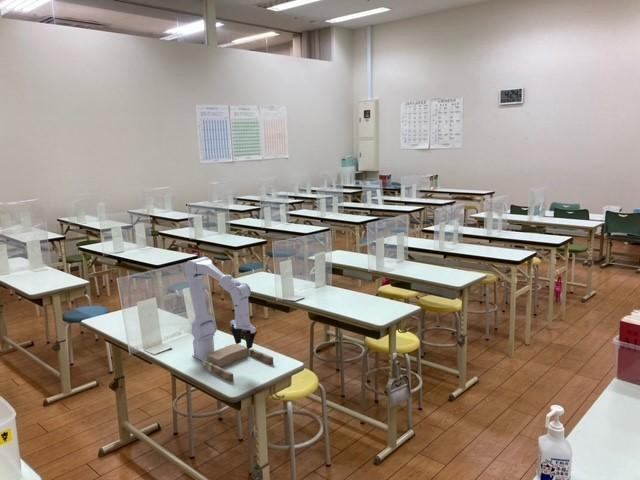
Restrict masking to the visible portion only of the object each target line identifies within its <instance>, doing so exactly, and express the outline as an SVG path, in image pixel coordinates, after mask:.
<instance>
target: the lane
mask: <svg viewBox="0 0 640 480" xmlns="http://www.w3.org/2000/svg"><path fill="white" fill-rule="evenodd" d="M243 346H244V347H246V348H247V346H246V345H243ZM247 351H248V355H247V356H250V357H253V358H255V359H257V360H259V361H262V362H264V363H266V364H268V365H269V366H270V365H271V366H272V365H274V357H273V356H271V355H268V354H266V353H263V352H262V351H259V350H256V349H254V348H253V347H252V348H249V349H247ZM202 368H204V369H205V370H208V371H209V372H211V373H213V374H215V375H217V376H218V377H221V378H223V379H224V380H227V381H229V382H231V383H232V382H234V380H235V379H234V373H233V372H230V371H228V370H227V369H224V368H222V367H218V366H216V365H214V364H212V363H210V362H208V361H207V360H204V361H202Z"/></svg>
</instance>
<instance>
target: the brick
mask: <svg viewBox="0 0 640 480" xmlns="http://www.w3.org/2000/svg"><path fill="white" fill-rule="evenodd" d="M244 346H245V345H241V344H240V343H239V344H236V343H233V344H230V345H227V346H226V345H225V346H224V347H222V348H219V349H217V350H214V352H211V353H209V354H207V355H206V356H207V360H206V361H208V362H210V363H212V364H214V365H216V366H218V367H220V368H222V367H225V366H228V365H230V364H232V363H234V362H236V361H239V360H242V359H244V358H247V357H248V356H249V355H248V351H247V348H246V347H244Z"/></svg>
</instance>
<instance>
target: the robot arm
mask: <svg viewBox="0 0 640 480" xmlns="http://www.w3.org/2000/svg"><path fill="white" fill-rule="evenodd" d="M183 267H184V272H185V277H186V280H187V284H188V288H189V289H188V290H189V293H190V298H191V303H192V307H193V312H194V318H193V320H192V322H191V323H190V324H191V335H192V336H193V340H192V348H193V354H192V357H193V358H196V359H198V360H200V361H201V362H203V361H204V360H206V361H207V356H206V355H207V354H209V353H211V352H214V351H215V338H214V336H215V333H216V332H217V330H218V328H217V327H218V326H217V324H216V322H215V319H214V316H212V315H210V314H208V309H207V304H206V299H205V294H204V290H203V285H202V281H201V280H202V278H203V276H204V275H205V274H207V275H209V276H210V277H212V278H213V279H215V280H216V281H218V283H219V286H220V287H221V288H223V290H225V291H227V292H228V293H229V294H230V298H231V299H232V304H233V306H234V319H232V320H230V321H229V322H230V327H229V331H230V332H231V334H232V336H233V339H234V341H235V344H239V345H240V344H241V343H242V335H243V337H244V340H245V344H246V345H245V346H247V349H249V348H252V349H253V345H254V340H255V337H256V335H257V333H258V331H257V328H256V327H255V326H254V325H252V324H251V322H250V309H249V308H250V307H249V297H250V296H251V293H252V291H251V287H250V286H249V285H248V283H245V282H240V281H239V280H237V279H235V278H234V277H233V276H232V275H231V274H224V273H223V272H222V271H221V270H220V269H219V268H217V266H215V265H214V264H213V260H212V259H210V257H207V256H203V257H198V258H196V259H192V260H191V259H190V260H187V261H186V263H185V264H184V266H183ZM243 330H245V332H242V331H243Z"/></svg>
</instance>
